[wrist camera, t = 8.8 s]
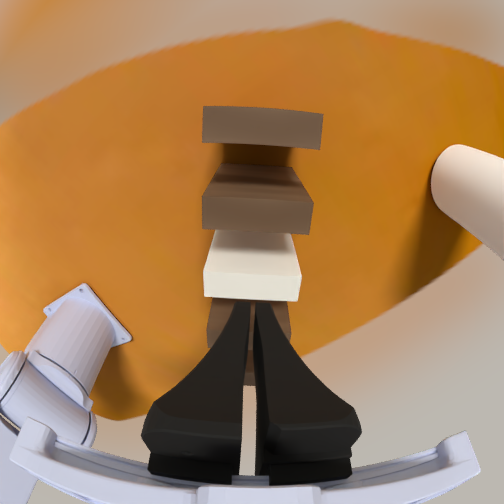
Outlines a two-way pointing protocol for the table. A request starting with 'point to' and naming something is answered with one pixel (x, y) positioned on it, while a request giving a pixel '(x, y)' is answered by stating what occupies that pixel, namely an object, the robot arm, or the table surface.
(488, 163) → the can
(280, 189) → the domino
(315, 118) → the domino
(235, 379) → the robot arm
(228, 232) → the domino
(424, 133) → the table surface
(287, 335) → the domino
